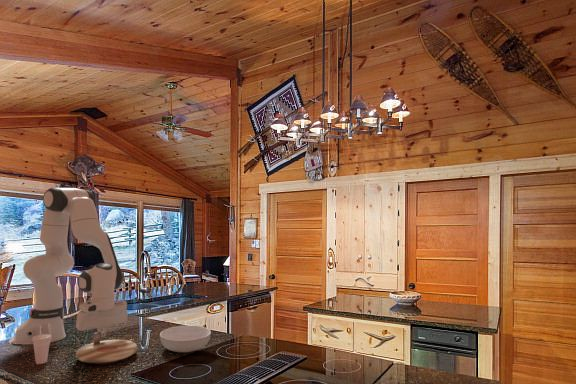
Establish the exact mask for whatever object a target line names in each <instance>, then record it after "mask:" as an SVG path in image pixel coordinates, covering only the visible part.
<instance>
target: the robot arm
mask: <svg viewBox="0 0 576 384" xmlns="http://www.w3.org/2000/svg"><path fill="white" fill-rule="evenodd" d="M95 201H96V197H95V194H94V193H93V192H92V191H91V190H89V189H85V188H76V187H51V188H48V189H47V190H46V191H45V192H44V194H43V196H42V202H43V203H42V204H43V205H44V207H45V209H44V212H43V214H42V215H43V216H42V219H41V220H42V221H41V229H40V234H39V236H40V237H39V241H40V242H41V243H42V244H43V246H44V247H45V254H39V255H36V256H33V257H32V258H29V259H28V260H26V261H25V263H24V264H23V267H22V268H23V269H22V270H23V274H24V276H25V277H26V278H27V280H30V282H31V284H32V285H33V289H34V295H35V296H34V297H35V298H34V299H35V300H34V301H35V307H32V308H30V309H29V318H27V319H26V320H25V321H24V322H22V323H21V324H20V325H19V326H18V327H17V328H16V329H15V333H14V336H13V337H11V338H10V339H9V340H8V344H9V343H10V344H9V345H11V342H14V344H15V343H16V344H18V343H19V344H22V345H34V344H33V341H32V338H33V337H34V336H37V335H40V325H41V335H42V334H49V335H51V339H50V344H51V343H54V342H58V341H61V340H64V339H65V338H66V337H67V335H66V332H65V325H64V316H65V308H64V305H63V303H64V291H63V288H62V287H61V286H59V285H58V282H57V279H56V278H57V277H58V276H63V275H65V274H67V273H69V272H70V271H72V269H73V268H74V266H75V259H74V257H73V255H72V254H70V251H69V246H68V234H69V233H68V232H69V226H71V233H72V235H73V236H74V239H76V240H78V241H80V242H81V243H85V244H87V245H90V246H91V245H92V246H93V247H96V248H98V249H99V251H100V253H101V256H102V259H103V261H104V262H100V263H97V264H95V265H94V266H93V267H92V268H89V269H86V270H83V271H82V272H81V273H80V274H79V276H78V280H77V286H78V289H79V290H80V291H81V292H83V293H87V294H88V293H92V294H91V299H88V300H87V301H85V302H83V303H81V304H79V305H78V309H79V311H78V313H77V314H76V320H75V321H76V322H75V328H76V329H77V330H78V331H80V332H85V331H88V330H94V329H96V331H97V332H99V333H100V339H101V338H104V337H106V335H107V331H108V330H109V327H110V326H112V325H116V324H117V325H118V324H120V323H121V324H122V323H126V322H127V320H128V310H127V309H128V302H127V300H124V299H122V300H121V299H120V300H116V294H115V291H116V290H118V289H119V288H120V287H121V285H122V284H123V282H124V279H125V276H124V273H123V271H122V268H121V266H120V265H119V262H118V258H117V255H116V252H115V250H114V247H113V244H112V240H111V238H110V235H109V234H108V233H107V232H105V230H103V228H102V227H101V223H100V222H99V216H98V212H97V208H96V205H95Z"/></svg>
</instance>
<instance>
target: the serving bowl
mask: <svg viewBox="0 0 576 384" xmlns="http://www.w3.org/2000/svg"><path fill="white" fill-rule="evenodd" d="M211 333H212V331H211V329H209V328H207V327H204V326H201V325H200V326H199V325H178V326H173V327H168V328H165V329H163V330H162V331H161V332H160V333H159V340H160V342H161V344H162V346H163V347H164V348H166V349H167V350H169V351H172V352H175V353H176V352H177V353H191V352H194V351H198V350H200V349H202V348H204V347H205V346H206V345H207V344H208V343H209V341H210V339H211V335H212V334H211Z"/></svg>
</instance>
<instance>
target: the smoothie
mask: <svg viewBox="0 0 576 384" xmlns="http://www.w3.org/2000/svg"><path fill="white" fill-rule="evenodd" d="M50 339H51V335H49V334H42V335H41V325H40V335H37V336H34V337H33V338H32V341H33V344H32V345H33V350H34V351H33V352H34V360H35V364H37V365H43V364H45V363H47V362H48V357H49V349H50V344H51V343H50Z"/></svg>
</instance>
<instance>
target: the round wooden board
mask: <svg viewBox="0 0 576 384" xmlns="http://www.w3.org/2000/svg"><path fill="white" fill-rule="evenodd" d="M137 348H138V347H137V343H135V342H134V341H132V340H127V339H106V340H101V338H100V333H99V332H98V331H97V332H94V333H93V342H91V343H87V344H85V345H83V346H81V347H79V348H77V350H76V351H75V358H76V360H78V361H79V362H83V363H86V362H88V363H104V362H111V361H117V360H120V359H124V358H126V359H127V358H129V357H131V356H132V355H134V354H135V353H136V352H137V350H138V349H137ZM124 360H125V359H124ZM88 363H87V364H88Z"/></svg>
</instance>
